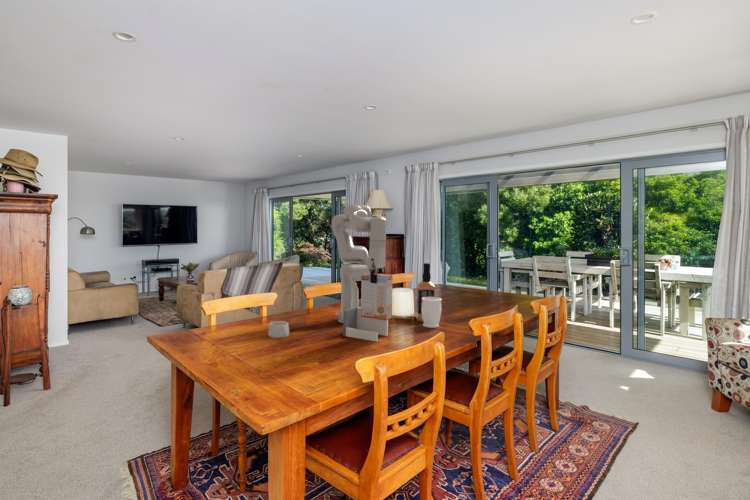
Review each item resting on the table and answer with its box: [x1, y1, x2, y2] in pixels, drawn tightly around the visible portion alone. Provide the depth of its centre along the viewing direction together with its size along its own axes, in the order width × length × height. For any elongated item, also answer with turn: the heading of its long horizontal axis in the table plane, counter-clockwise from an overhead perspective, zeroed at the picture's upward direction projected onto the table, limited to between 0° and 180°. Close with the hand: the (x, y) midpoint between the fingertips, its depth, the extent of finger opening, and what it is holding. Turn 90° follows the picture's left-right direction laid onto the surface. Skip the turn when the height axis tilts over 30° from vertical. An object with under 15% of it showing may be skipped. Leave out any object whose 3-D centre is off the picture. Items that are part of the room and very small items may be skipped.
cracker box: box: [360, 272, 393, 321], centre depth 190 cm, size 14×6×21 cm, turn 59°
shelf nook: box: [342, 306, 389, 342], centre depth 194 cm, size 18×12×12 cm, turn 63°
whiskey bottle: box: [415, 262, 436, 322], centre depth 229 cm, size 10×10×32 cm
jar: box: [421, 296, 442, 329], centre depth 214 cm, size 11×10×15 cm
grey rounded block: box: [267, 320, 290, 339], centre depth 190 cm, size 12×10×6 cm
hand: (376, 281), depth 189 cm, fingers closed on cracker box, 6 cm apart
